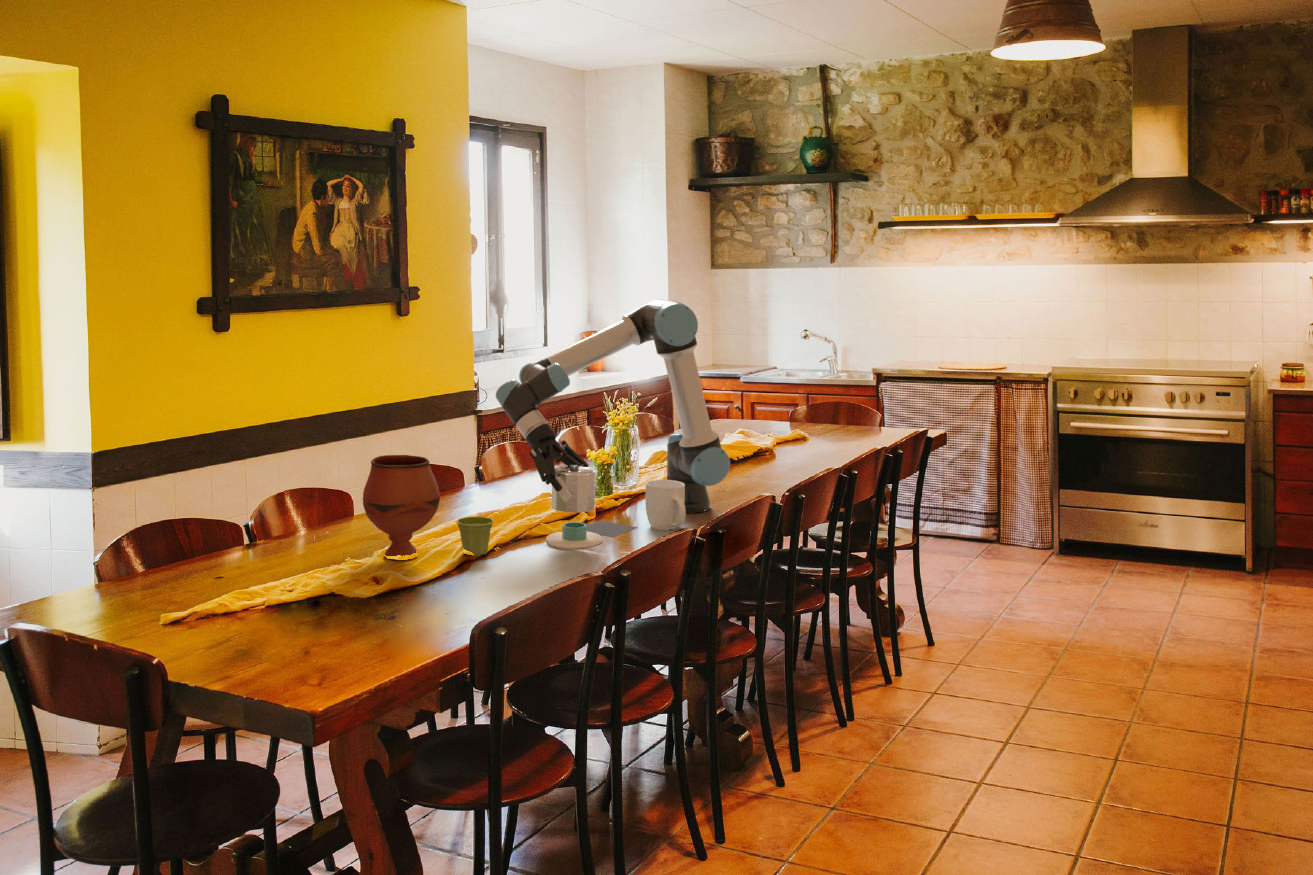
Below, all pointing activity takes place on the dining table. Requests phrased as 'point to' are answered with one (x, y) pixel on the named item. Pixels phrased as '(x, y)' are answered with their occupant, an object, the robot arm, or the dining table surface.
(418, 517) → the goblet
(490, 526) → the plant pot
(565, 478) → the cover
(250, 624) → the dining table surface
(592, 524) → the mat
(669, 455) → the robot arm
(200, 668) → the dining table surface
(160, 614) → the dining table surface
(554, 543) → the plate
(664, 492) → the mug
